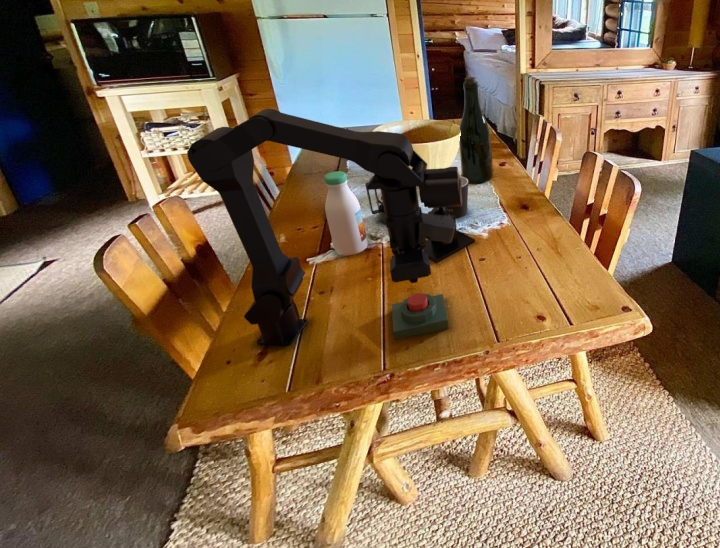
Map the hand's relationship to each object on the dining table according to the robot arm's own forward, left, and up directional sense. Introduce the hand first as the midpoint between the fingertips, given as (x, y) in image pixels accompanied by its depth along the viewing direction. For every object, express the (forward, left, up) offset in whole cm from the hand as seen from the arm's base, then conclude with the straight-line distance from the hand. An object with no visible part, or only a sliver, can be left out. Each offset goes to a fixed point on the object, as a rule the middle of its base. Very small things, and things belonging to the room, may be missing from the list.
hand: (414, 281), depth 82 cm
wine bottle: (+68, +2, -10) cm, 69 cm away
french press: (+40, +20, -10) cm, 46 cm away
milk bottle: (+24, +25, -10) cm, 36 cm away
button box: (0, 0, -9) cm, 9 cm away
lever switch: (+26, +2, -9) cm, 28 cm away
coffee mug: (+44, +4, -10) cm, 45 cm away
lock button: (0, 0, -6) cm, 6 cm away
